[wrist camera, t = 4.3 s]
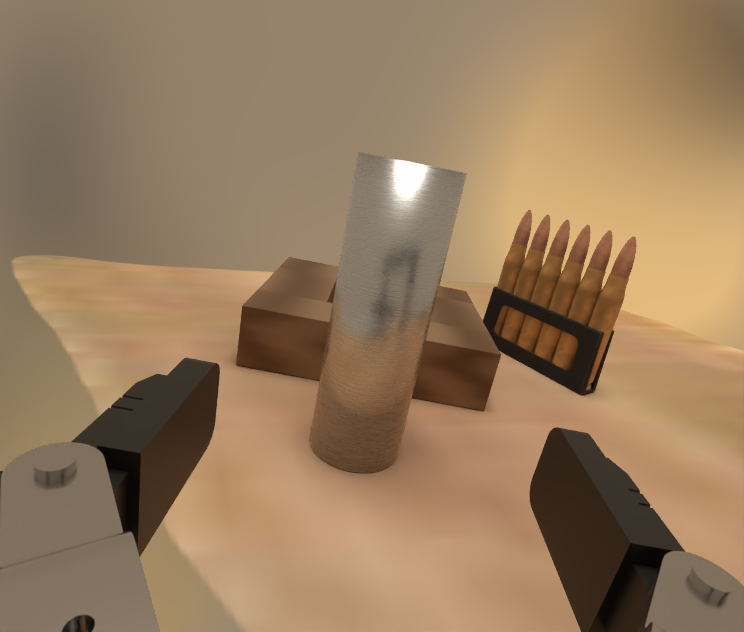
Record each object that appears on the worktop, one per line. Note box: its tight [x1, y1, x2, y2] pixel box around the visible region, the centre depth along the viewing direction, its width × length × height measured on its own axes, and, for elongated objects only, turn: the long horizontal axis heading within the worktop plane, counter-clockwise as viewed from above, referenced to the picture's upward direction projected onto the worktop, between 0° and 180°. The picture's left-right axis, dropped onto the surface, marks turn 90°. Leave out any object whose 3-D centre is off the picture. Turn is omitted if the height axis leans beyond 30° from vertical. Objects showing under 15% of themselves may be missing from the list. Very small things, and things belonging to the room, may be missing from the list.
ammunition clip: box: [483, 210, 636, 395], centre depth 38 cm, size 11×2×12 cm, turn 36°
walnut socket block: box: [236, 257, 501, 411], centre depth 36 cm, size 16×14×4 cm
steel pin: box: [310, 152, 466, 473], centre depth 22 cm, size 5×5×14 cm
